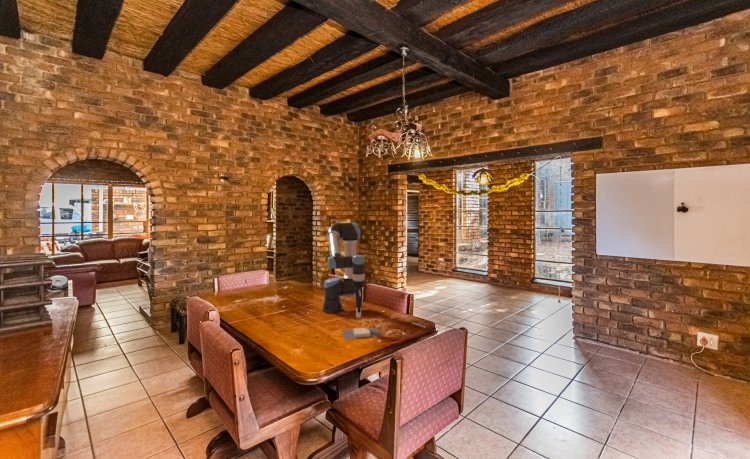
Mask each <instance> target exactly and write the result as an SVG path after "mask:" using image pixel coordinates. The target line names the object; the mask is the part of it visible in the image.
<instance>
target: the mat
mask: <svg viewBox="0 0 750 459" xmlns="http://www.w3.org/2000/svg"><path fill="white" fill-rule="evenodd" d="M367 328H368V329H369V331H370V336H369V337H357V338H355V336H354V333H353V329H354V328H351V329H342V330H341V333H342V336H343V339H344V340H351V339H353V340H354V339H363V338H376V337H377V338H379V337H382V335H381V333H380V332H379V330H378V328H377V327H367Z"/></svg>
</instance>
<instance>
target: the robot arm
mask: <svg viewBox="0 0 750 459" xmlns="http://www.w3.org/2000/svg"><path fill="white" fill-rule="evenodd" d="M360 231H361V230H360V226H359V224H358V223H357V222H336V223H334V224H332V225H330V226H329V227H328V229H327V230H326V240H327V241H328V249H329V256H327V267H328V269H334V270H335V269H344V276H343V277H342V279H341V278H340V277H331V278H328V279H326V280H324V283H323V284H324V286H323V287H324V296H323V297H324V301H323V303H322V308H321V311H322V312H324V313H329V314H333V313H335V314H336V313H340V312H342V311H343V309H344V308H343V304H342V300H341V296H342V297H344V296H355V311H356V312H355V314H356V315H355V317H356V318H361V317H362V305H363V304H362V301H363V289H362V288H363V287H365V285H366V282H365V279H366V277H365V276H366V275H365V274H366V273H365V272H366V271H365V266H366V265H365V262H366V261H365V256H364V255H361V254H357V242H358V241H359V239H360V238H361V232H360ZM340 239H342V242H343V243H344V256H342V250H341V244H340Z"/></svg>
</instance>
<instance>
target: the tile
mask: <svg viewBox="0 0 750 459" xmlns="http://www.w3.org/2000/svg"><path fill="white" fill-rule="evenodd" d="M368 328H369V327H359V328H358V327H356V328H352V329H353V333H354V336H355V338H354V339H358V338H357V337H367V338H370V337H369V336H370V331H369V329H368Z"/></svg>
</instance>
